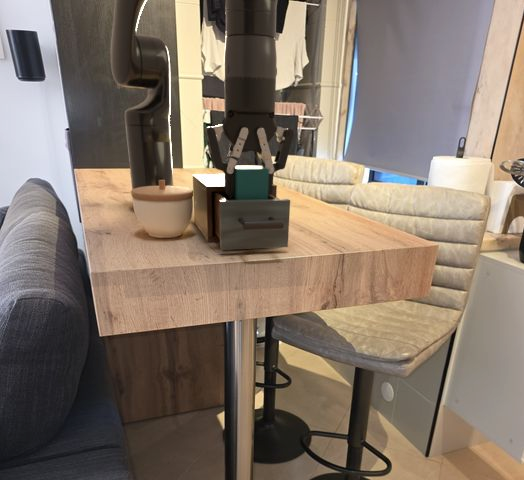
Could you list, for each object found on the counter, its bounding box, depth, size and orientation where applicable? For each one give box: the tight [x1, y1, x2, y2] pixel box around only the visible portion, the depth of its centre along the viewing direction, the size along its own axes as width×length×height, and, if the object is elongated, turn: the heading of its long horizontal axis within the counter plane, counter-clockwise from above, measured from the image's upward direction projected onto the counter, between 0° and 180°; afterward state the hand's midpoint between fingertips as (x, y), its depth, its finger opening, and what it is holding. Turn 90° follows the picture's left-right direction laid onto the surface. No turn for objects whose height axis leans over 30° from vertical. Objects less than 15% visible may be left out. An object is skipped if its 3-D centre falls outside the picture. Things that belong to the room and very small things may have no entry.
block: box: [233, 165, 269, 200], centre depth 73 cm, size 5×5×5 cm
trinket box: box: [130, 180, 194, 239], centre depth 81 cm, size 11×11×9 cm
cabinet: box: [192, 173, 278, 243], centre depth 86 cm, size 16×12×9 cm
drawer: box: [212, 192, 291, 251], centre depth 75 cm, size 20×11×7 cm, turn 16°
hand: (248, 197), depth 74 cm, fingers closed on block, 5 cm apart
